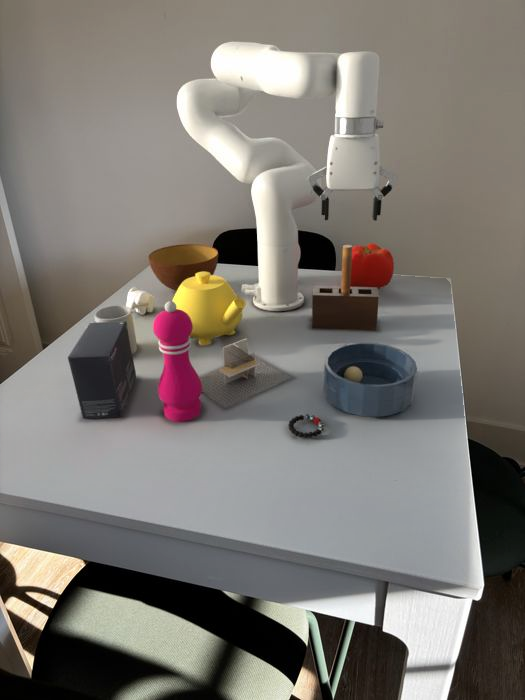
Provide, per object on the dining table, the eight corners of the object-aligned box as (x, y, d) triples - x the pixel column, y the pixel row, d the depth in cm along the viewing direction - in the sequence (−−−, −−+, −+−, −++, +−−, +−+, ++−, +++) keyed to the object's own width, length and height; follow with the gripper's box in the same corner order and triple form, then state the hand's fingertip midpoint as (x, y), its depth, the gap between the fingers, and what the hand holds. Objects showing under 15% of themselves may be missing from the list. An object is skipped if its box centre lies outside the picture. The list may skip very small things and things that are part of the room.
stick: (339, 326, 116) (342, 247, 108) (339, 322, 118) (342, 244, 110) (348, 326, 116) (352, 247, 107) (348, 322, 118) (352, 244, 109)
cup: (142, 353, 107) (136, 313, 103) (94, 367, 102) (86, 326, 98) (129, 340, 112) (123, 302, 108) (83, 353, 107) (75, 314, 103)
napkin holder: (260, 379, 96) (259, 344, 93) (230, 393, 93) (228, 356, 89) (249, 372, 99) (247, 337, 95) (219, 385, 95) (216, 349, 92)
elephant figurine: (121, 313, 126) (117, 289, 123) (150, 304, 130) (147, 281, 128) (134, 321, 121) (130, 297, 118) (164, 312, 126) (161, 288, 123)
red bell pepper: (382, 299, 129) (386, 258, 124) (333, 291, 135) (334, 251, 130) (398, 282, 139) (402, 244, 134) (352, 275, 145) (354, 238, 140)
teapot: (271, 338, 112) (270, 277, 105) (214, 363, 102) (209, 298, 96) (213, 312, 125) (209, 256, 118) (158, 332, 115) (150, 273, 109)
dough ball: (343, 387, 92) (344, 371, 90) (343, 378, 95) (344, 362, 93) (362, 388, 91) (363, 372, 90) (361, 379, 94) (362, 363, 93)
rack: (376, 331, 114) (379, 296, 110) (311, 328, 115) (312, 295, 112) (374, 320, 118) (377, 287, 115) (313, 318, 120) (313, 285, 116)
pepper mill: (163, 401, 91) (148, 294, 82) (204, 398, 91) (194, 291, 82) (159, 425, 85) (142, 312, 75) (203, 422, 85) (193, 309, 76)
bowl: (139, 294, 136) (133, 257, 131) (184, 275, 149) (181, 240, 144) (189, 308, 127) (185, 269, 122) (233, 286, 140) (231, 250, 135)
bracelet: (331, 431, 82) (331, 426, 81) (301, 444, 79) (301, 438, 79) (310, 414, 86) (310, 409, 86) (281, 425, 83) (281, 420, 83)
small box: (100, 379, 98) (89, 321, 93) (137, 377, 98) (127, 319, 93) (80, 419, 87) (66, 356, 81) (122, 418, 87) (110, 354, 81)
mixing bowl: (322, 417, 85) (323, 384, 82) (324, 371, 99) (325, 340, 96) (417, 423, 83) (422, 388, 80) (407, 375, 97) (410, 344, 94)
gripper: (400, 124, 100) (392, 214, 108) (309, 126, 102) (308, 214, 110) (404, 128, 93) (395, 223, 101) (307, 130, 96) (306, 223, 104)
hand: (350, 218), depth 106 cm, fingers open, 9 cm apart
